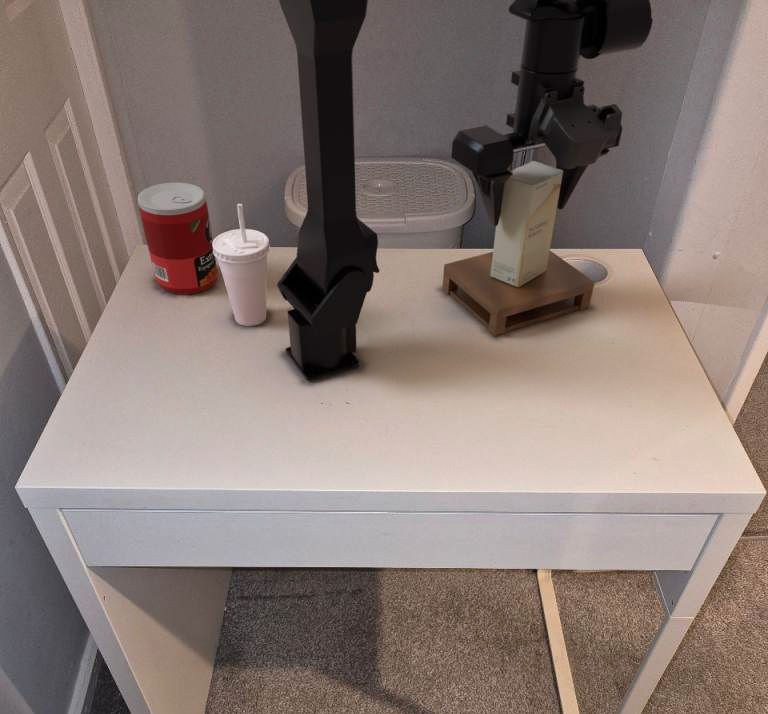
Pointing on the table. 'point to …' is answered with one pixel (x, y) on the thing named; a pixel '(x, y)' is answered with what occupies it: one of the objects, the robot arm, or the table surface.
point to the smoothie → (244, 270)
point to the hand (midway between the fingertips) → (527, 216)
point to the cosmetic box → (526, 223)
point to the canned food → (178, 237)
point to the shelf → (516, 293)
